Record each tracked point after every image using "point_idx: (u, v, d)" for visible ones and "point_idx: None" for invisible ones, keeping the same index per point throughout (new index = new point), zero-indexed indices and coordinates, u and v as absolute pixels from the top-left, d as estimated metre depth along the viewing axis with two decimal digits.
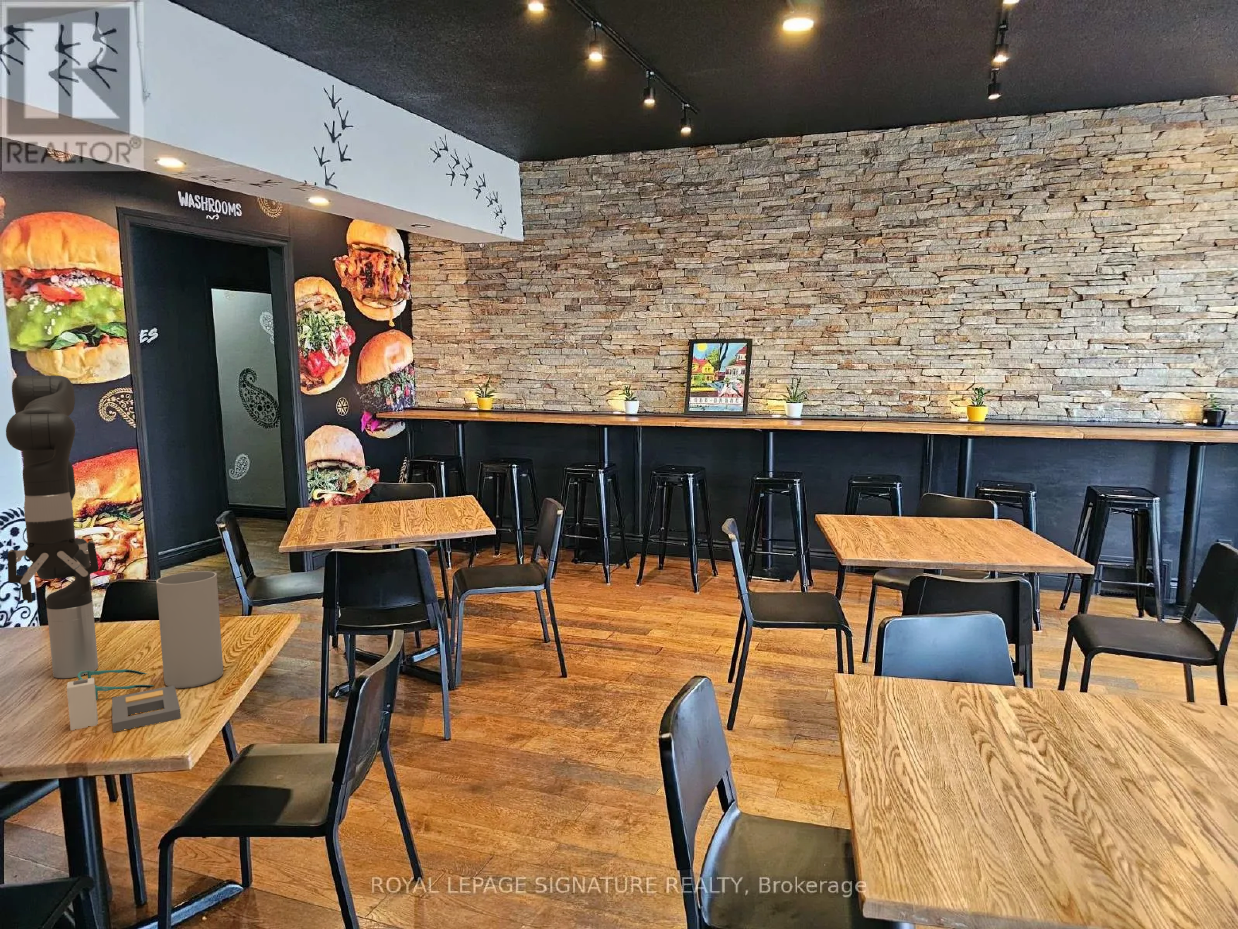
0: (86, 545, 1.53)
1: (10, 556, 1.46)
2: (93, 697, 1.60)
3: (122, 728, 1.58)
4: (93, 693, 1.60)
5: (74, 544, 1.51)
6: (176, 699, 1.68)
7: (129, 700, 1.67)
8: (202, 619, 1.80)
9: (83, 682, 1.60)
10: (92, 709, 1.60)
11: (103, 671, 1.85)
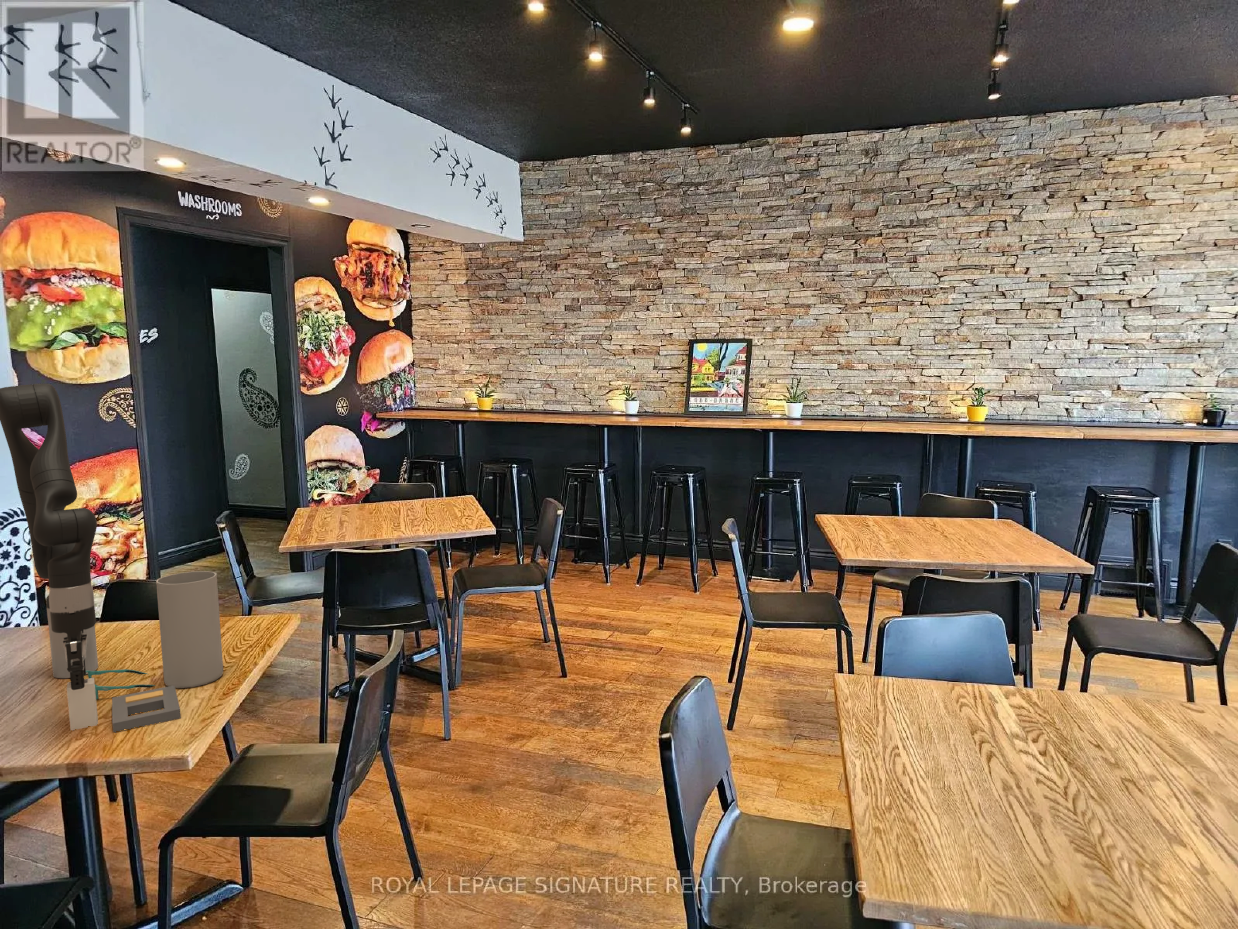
0: None
1: (81, 644, 1.54)
2: (93, 697, 1.60)
3: (122, 728, 1.58)
4: (93, 693, 1.60)
5: None
6: (176, 699, 1.68)
7: (129, 700, 1.67)
8: (202, 619, 1.80)
9: None
10: (92, 709, 1.60)
11: (104, 671, 1.85)
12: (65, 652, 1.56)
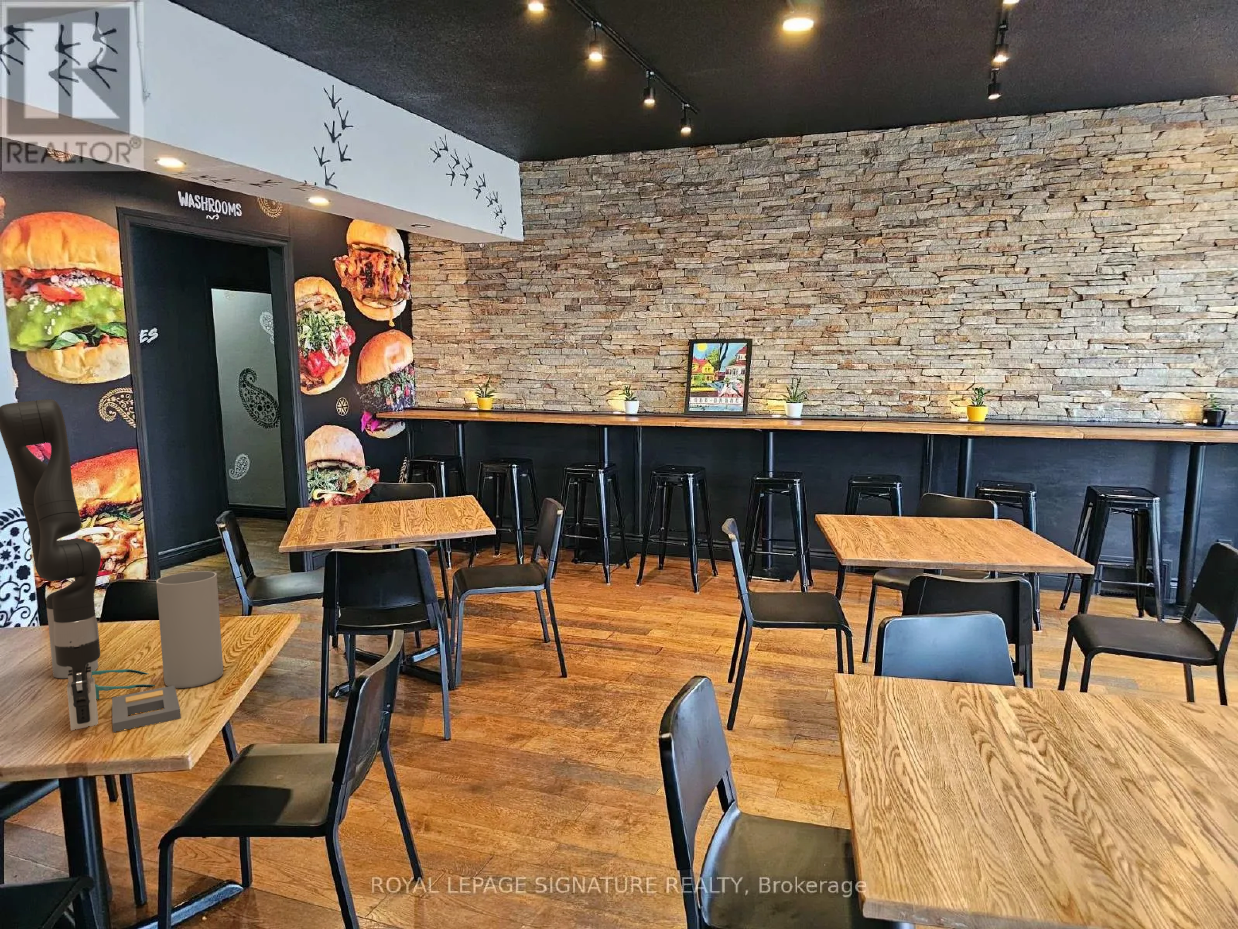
0: None
1: (86, 684, 1.56)
2: (93, 697, 1.60)
3: (122, 728, 1.58)
4: (93, 693, 1.60)
5: None
6: (176, 699, 1.68)
7: (129, 700, 1.67)
8: (203, 619, 1.80)
9: None
10: (92, 709, 1.60)
11: (104, 671, 1.85)
12: (70, 687, 1.57)
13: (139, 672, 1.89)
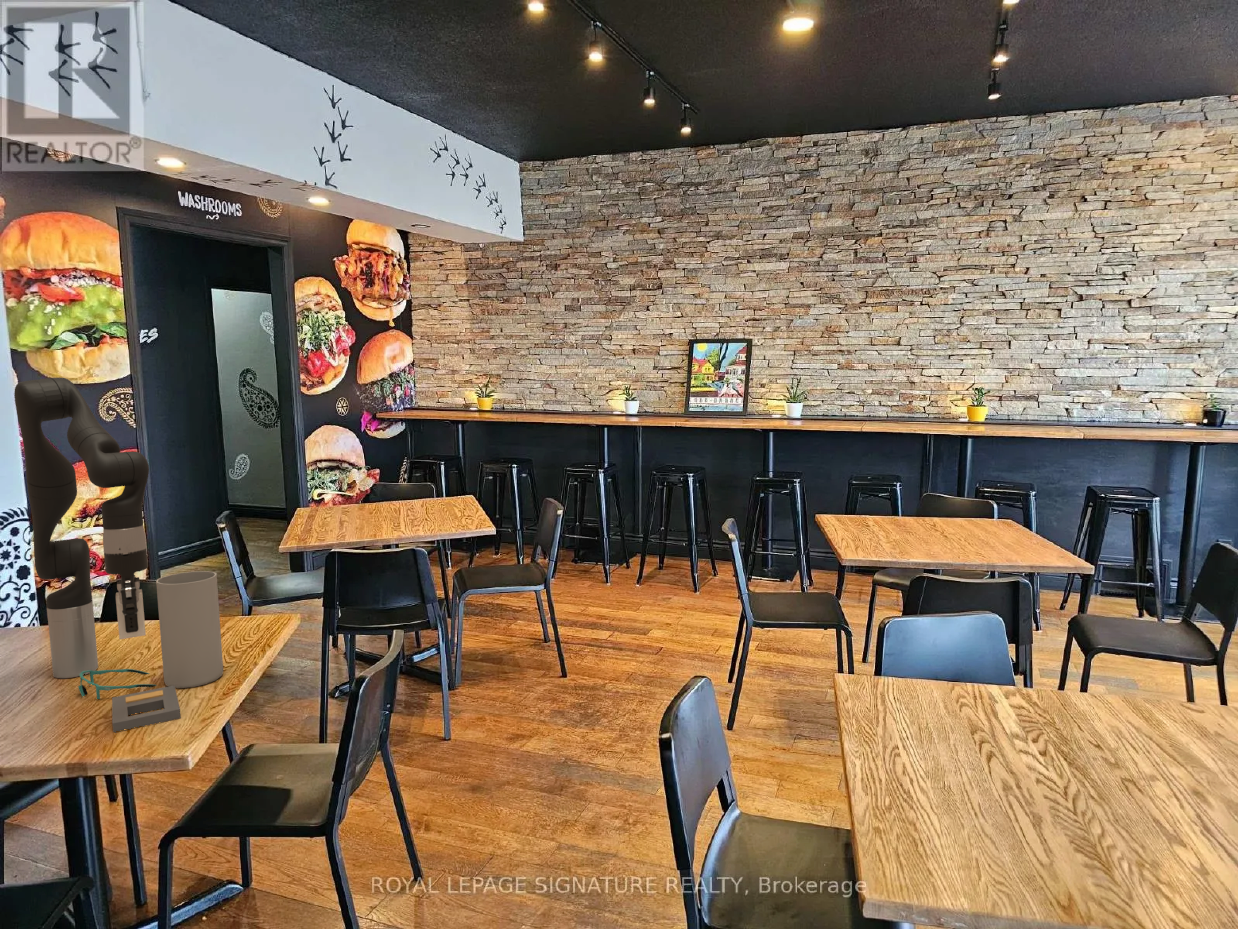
0: None
1: (135, 591, 1.56)
2: (141, 607, 1.60)
3: (122, 728, 1.58)
4: (141, 603, 1.60)
5: None
6: (176, 699, 1.68)
7: (129, 700, 1.67)
8: (203, 619, 1.80)
9: None
10: (140, 619, 1.60)
11: (105, 671, 1.85)
12: (119, 595, 1.58)
13: (140, 672, 1.89)
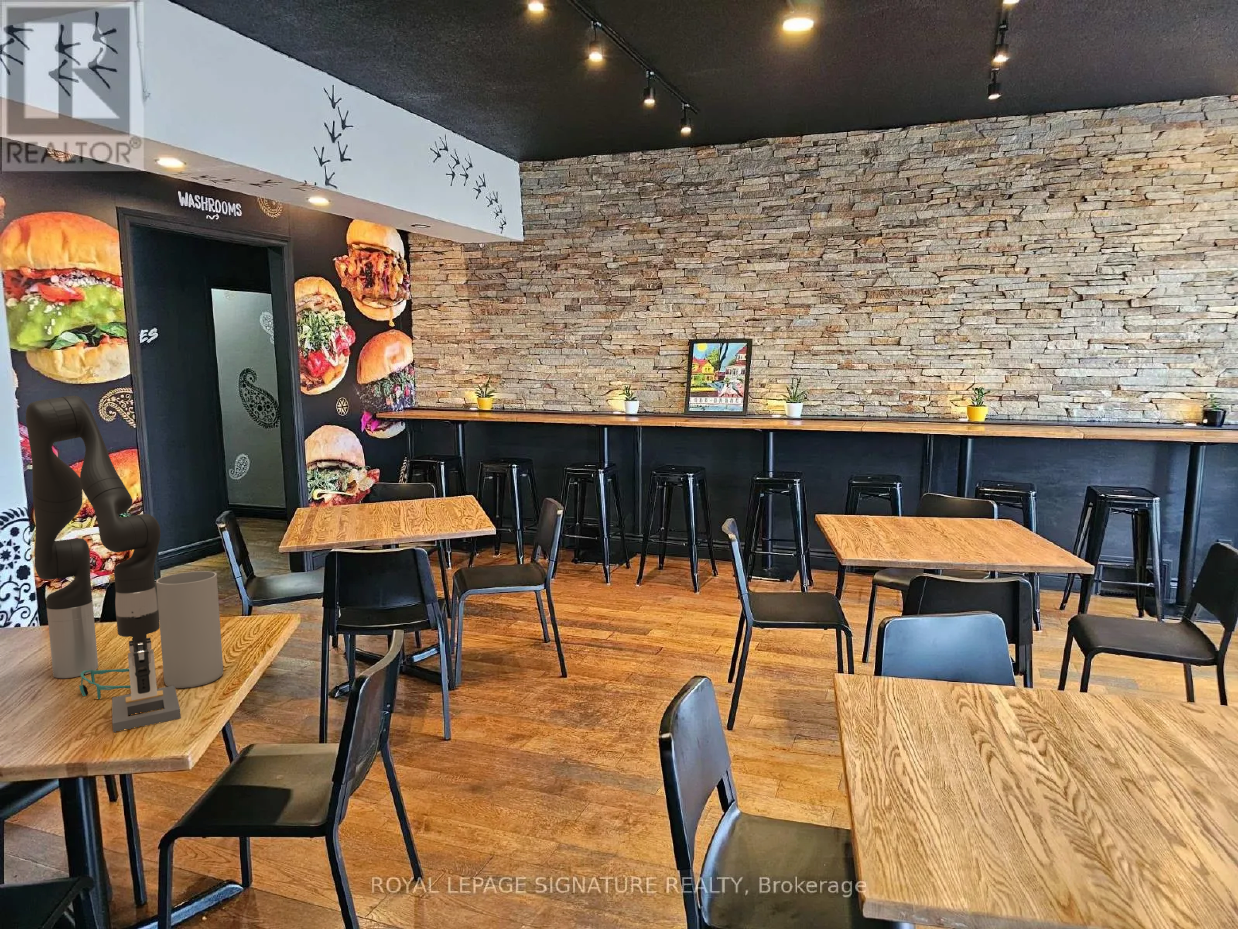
0: None
1: (148, 654, 1.58)
2: (153, 668, 1.62)
3: (122, 728, 1.58)
4: (153, 664, 1.62)
5: None
6: (176, 699, 1.68)
7: (129, 700, 1.67)
8: (203, 619, 1.80)
9: None
10: (152, 680, 1.62)
11: (106, 670, 1.85)
12: (132, 657, 1.60)
13: None
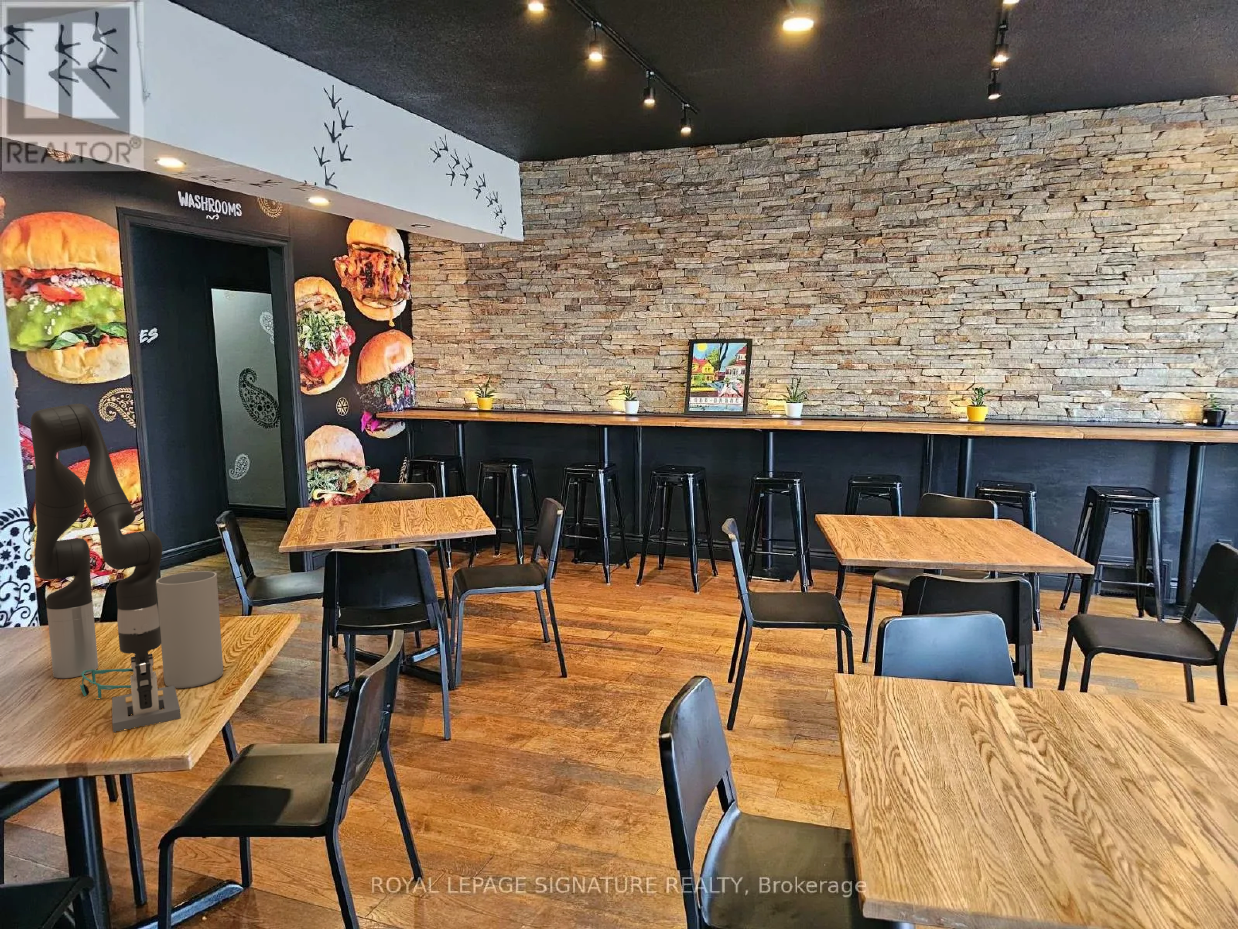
0: None
1: (150, 666, 1.58)
2: (156, 690, 1.63)
3: (122, 728, 1.58)
4: (156, 686, 1.63)
5: None
6: (176, 699, 1.68)
7: (129, 700, 1.67)
8: (202, 619, 1.80)
9: None
10: (154, 702, 1.63)
11: (107, 670, 1.85)
12: (133, 672, 1.60)
13: None
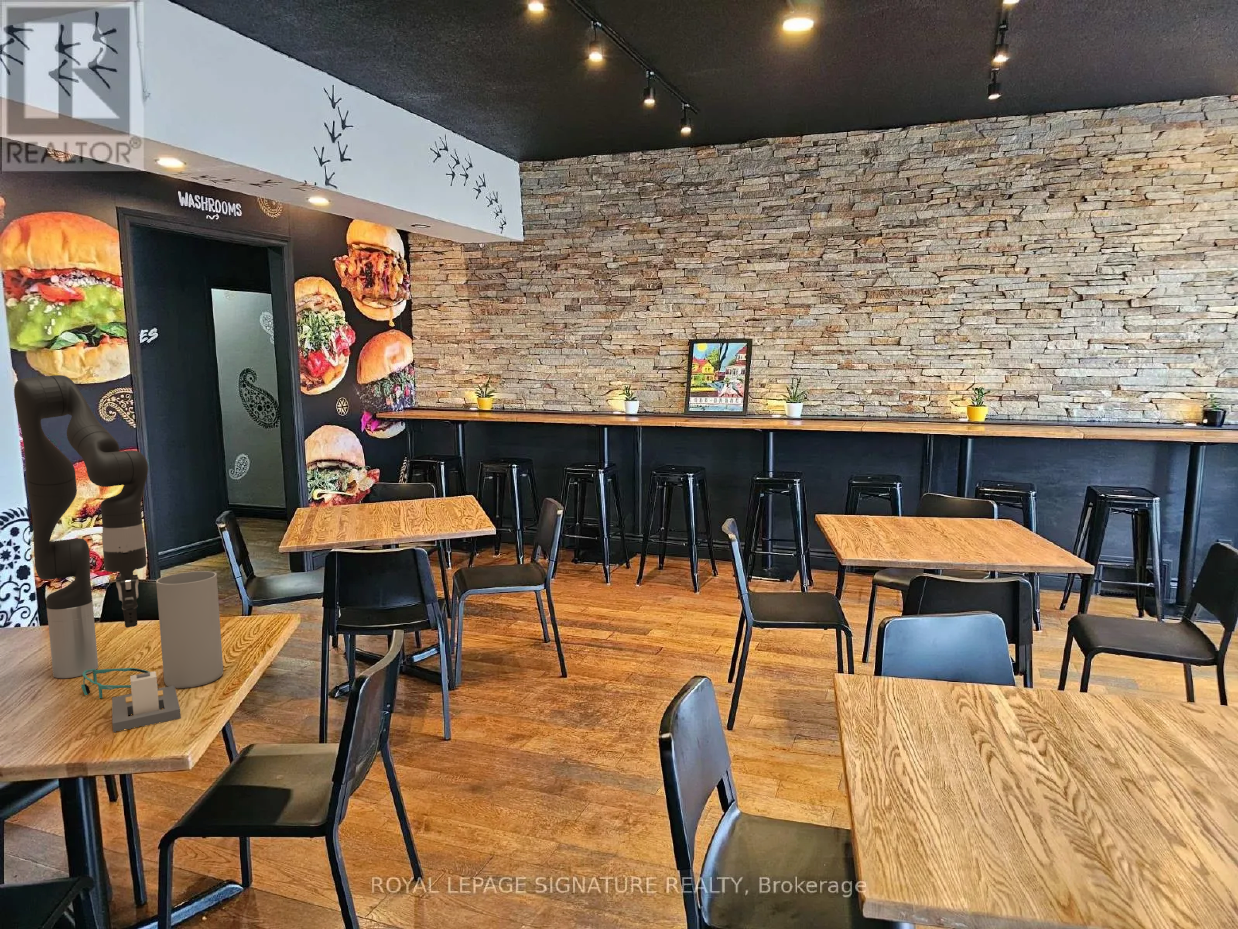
0: None
1: (135, 583, 1.58)
2: (156, 690, 1.63)
3: (122, 728, 1.58)
4: (156, 686, 1.63)
5: None
6: (176, 699, 1.68)
7: (129, 700, 1.67)
8: (202, 619, 1.80)
9: (146, 675, 1.63)
10: (154, 702, 1.63)
11: (108, 669, 1.86)
12: (118, 591, 1.59)
13: (143, 671, 1.89)
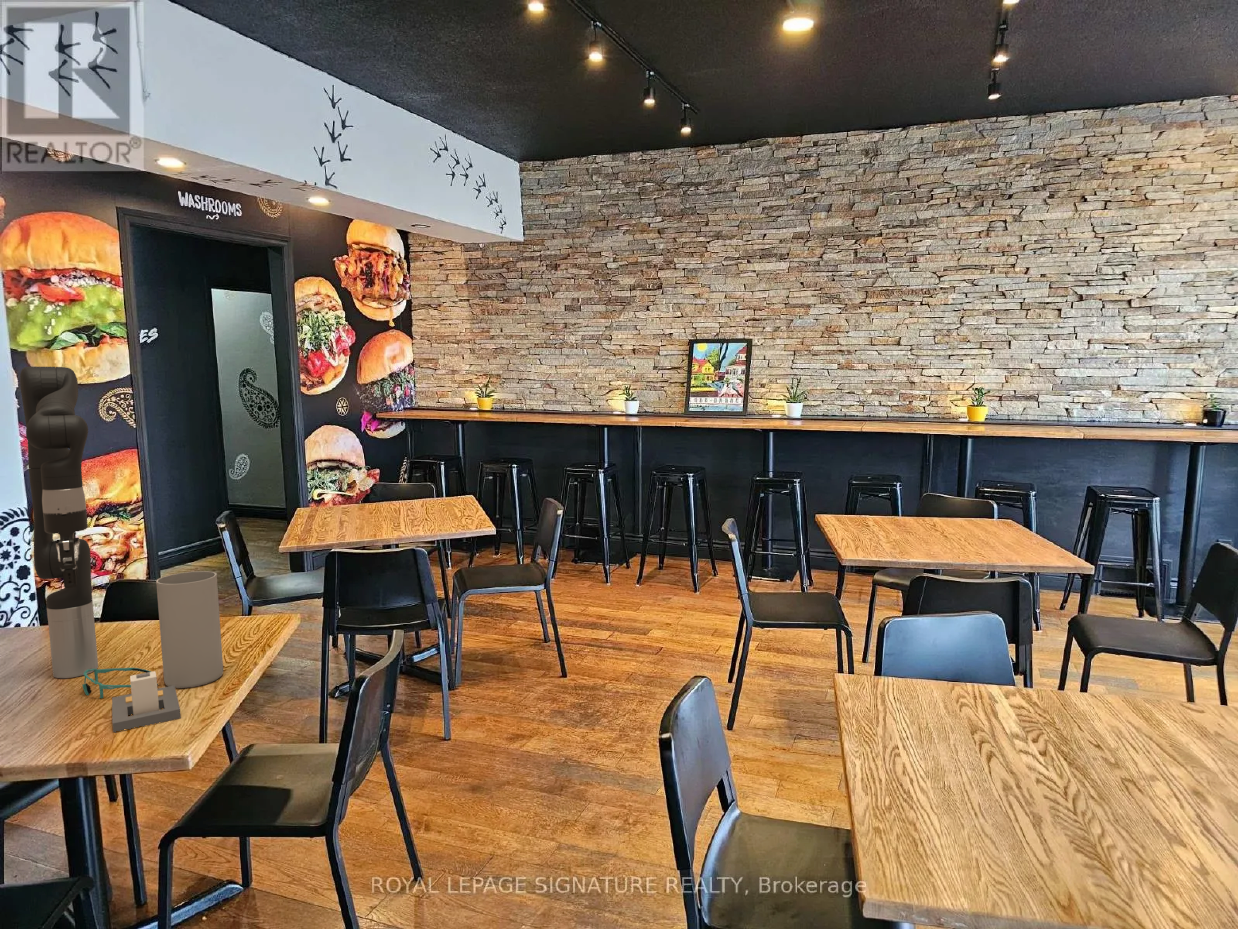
0: None
1: (73, 544, 1.61)
2: (155, 690, 1.63)
3: (122, 728, 1.58)
4: (156, 686, 1.63)
5: None
6: (176, 699, 1.68)
7: (129, 700, 1.67)
8: (202, 619, 1.80)
9: (146, 675, 1.63)
10: (154, 702, 1.63)
11: (110, 669, 1.86)
12: (58, 552, 1.62)
13: (144, 670, 1.90)
